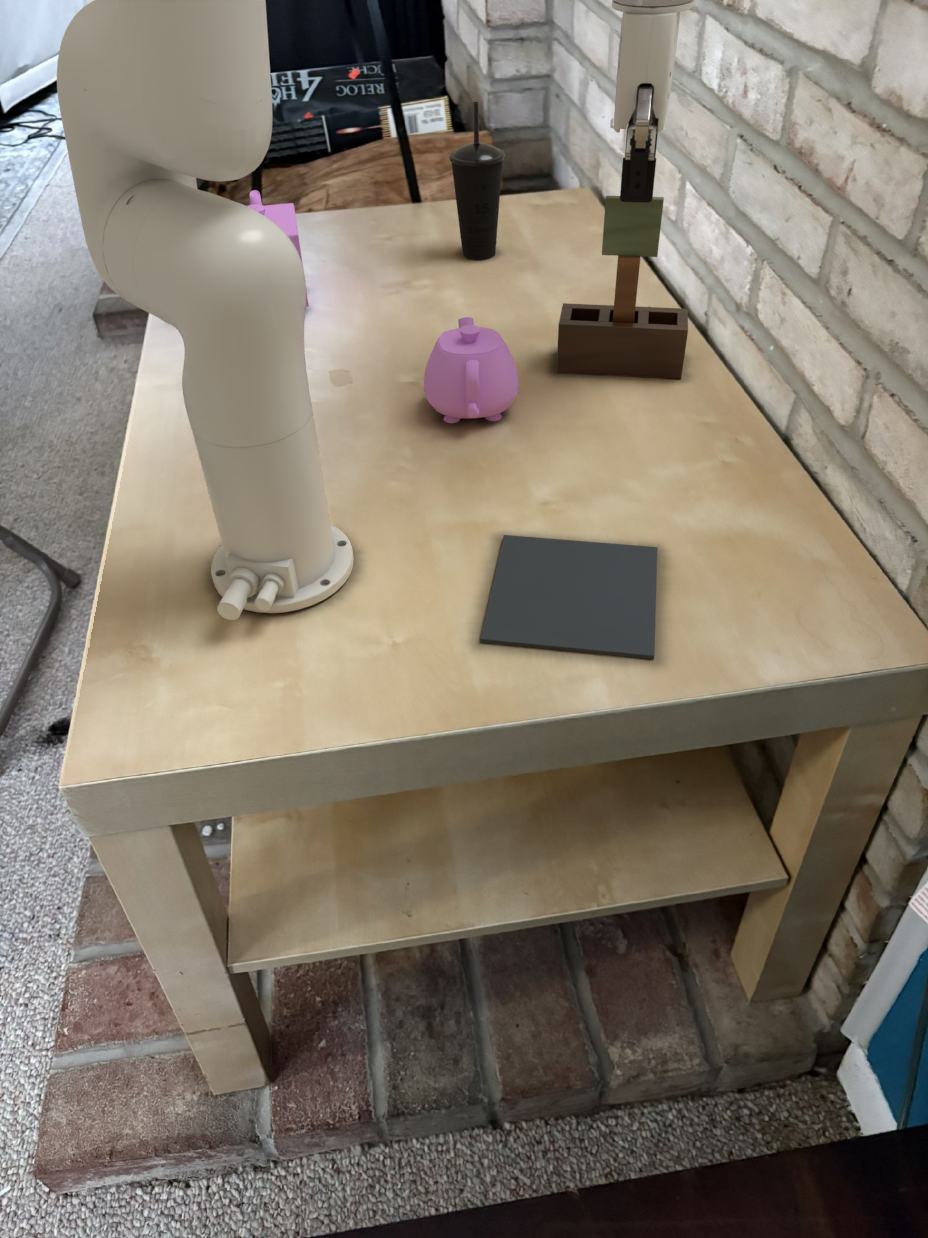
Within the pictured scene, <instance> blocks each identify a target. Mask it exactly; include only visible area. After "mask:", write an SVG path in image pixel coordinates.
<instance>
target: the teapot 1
mask: <svg viewBox="0 0 928 1238" xmlns="http://www.w3.org/2000/svg"><path fill="white" fill-rule="evenodd" d="M248 198H249V204H248V205H246V206H247V207H249V208H251V209H254V210H256V211H258V212H259V213H261V214H263V215H264V216H266V217H267V218H269V219H270V220H271V221H273V222H274V223H275V224H276V225H277V226H278V227H280V228H281V229H282V230H283V231H284V232H285V233H286V235H287V236H288V237H289V239H290V240H291V241H292V243H293V244H294V246H295V248H296V249H297V251H298V254H299V256H300V259H301V261H302V265H303V266H304V263H303V262H304V261H303V256H302V250H301V243H300V236H299V229H298V223H297V217H296V209H295V204H294V202H288V203H279V204H278V203H277V204H267V205H266V204H265V205H263V202H262V198H261V193H260V191H259V190H257V189H254V190H251V191H250V192H249V197H248ZM305 307H309V299H308V292H307V290H306V303H305Z"/></svg>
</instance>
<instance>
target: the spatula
mask: <svg viewBox="0 0 928 1238" xmlns="http://www.w3.org/2000/svg"><path fill="white" fill-rule="evenodd" d="M664 200H665V197H664V196H653V198H652V201H651V202H648V203H647V202H622V201H621V200H620V195H606V196H605V201H604V215H603V216H604V217H603V231H602V245H601V256H614V257H615V256H616V257H617V263H616V264H617V265H616V275H615V276H616V277H615V286H614V287H615V288H614V301H613V306H614V311H613V322H619V323H634V317H635V307H637V306H636V305H637V296H638V286H639V275H640V267H641V266H640V265H641V257H644V258H645V257H646V258H648V257H649V258H657V257H658V255H659V248H660V247H659V245H660V238H661V227H662V219H663V211H664V210H663V209H664Z"/></svg>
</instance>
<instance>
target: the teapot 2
mask: <svg viewBox="0 0 928 1238" xmlns="http://www.w3.org/2000/svg"><path fill="white" fill-rule="evenodd" d="M457 323H458V324H457V325H458V327H456V328H452V329H449V330H446V331H444V332H442V333H441V334H440V335H439V337H438V338H437V340H436V342H435V344H434V345H433V348H432V350H431V352H430V354H429V357H428V359H427V363H426V365H425V371H424V378H423V392H424V395H425V397H426V400H427V402H428V403H429V405H430V406H432V407H433V409H434V410H435V411H436V412H438V413H439V414H441V415H443V416H444V417H443V421H444V423H448V424H456V423H458V422H460V421H461V420H462V419H479V418H484V419H485V420H487V421H489V422H497V421H500V420H501V419H502V417H503V416H502V414H501V413H504V412H505V411H506V410H508V409H509V407H511V406H512V405H513V402H514V401H515V400H516V399H517V396H518V393H519V389H520V388H519V387H520V386H519V374H518V370H517V365H516V363H515V360H514V357H513V354H512V353H511V351H510V349H509V347H508V346H507V343H506V341H505V340H504V338H503V337H502V336H501V334H500V332H498V331H497V330H496V329H493V328H489V327H484V326H483V327H482V326H478V325H475V322H474V318H473V317H469V316H466V317H461V318H459V319H458V320H457Z"/></svg>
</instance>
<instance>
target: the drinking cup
mask: <svg viewBox="0 0 928 1238" xmlns="http://www.w3.org/2000/svg"><path fill="white" fill-rule="evenodd" d="M472 103H473V104H472V105H473V142H470V143H467V144H463V145H461V146H459V147H458V148H456V149H454V150H451V152H449V154H448V160H449V161H450V162H451V169H452V176H453V177H452V179H453V185H454V194H455V202H456V211H457V218H458V227H459V235H460V243H461V244H460V245H461V251H462V256H463V257H464V258H466V259H469V260H474V261H483V260H488V259H491V258H493V257H494V256H496V250H497V238H498V224H499V210H500V200H501V199H500V197H501V187H502V185H501V184H502V172H503V161H504V160H505V158H506V154H505V151H504V150H503V149H501V148H499V147H497V146H494V145H492V144H490V143H485V142H480V117H479V113H480V111H479V108H480V107H479V101H473V102H472Z"/></svg>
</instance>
